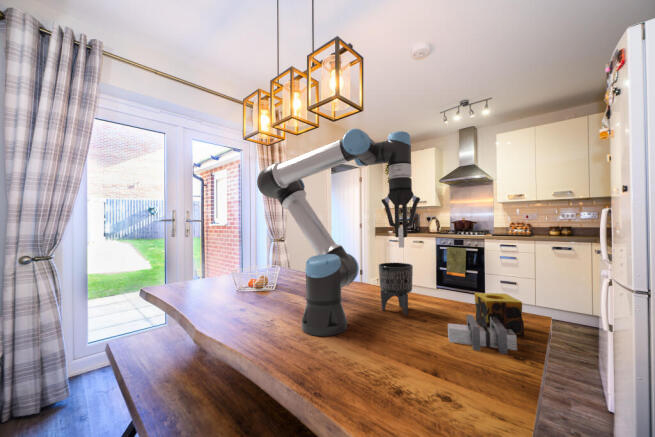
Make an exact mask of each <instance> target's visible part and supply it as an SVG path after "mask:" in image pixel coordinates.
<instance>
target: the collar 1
mask: <svg viewBox="0 0 655 437" xmlns="http://www.w3.org/2000/svg"><path fill="white" fill-rule="evenodd" d="M466 325H469V326H471V328H472V345H471V346H472V350H473V351H478V352H480V351H481V346H480V328H479V327H480V325H478V323H477V322H476V317H474V314H466Z"/></svg>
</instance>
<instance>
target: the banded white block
mask: <svg viewBox="0 0 655 437" xmlns="http://www.w3.org/2000/svg"><path fill="white" fill-rule="evenodd" d="M479 328H480V347H484V348H485V347H486V348H495V349H498V331H497V329H496V328H489V327H480V326H479ZM506 330H507V350H508V351H509V350H510V351H518V345H517V344H518V343H517V342H518V341H517V335H515V333H514V332H513V331H512V330H509V329H506ZM447 335H448V336H447V338H448V342H449V343H452V344H453V343H455V344H462V345H469V346H472V328H471V326H469V325H467V324H466V325H465V324H458V323H457V324H456V323H447Z"/></svg>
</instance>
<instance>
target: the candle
mask: <svg viewBox="0 0 655 437" xmlns="http://www.w3.org/2000/svg"><path fill="white" fill-rule="evenodd" d="M474 303H475V320H476V322H477V324H478V326H479V327H489V328H490V317H496V318H497V319H498V320H499V321H500V323H501V324H502V325H503V326H504V328H505V329H509V330H512V331H513V332H514V333H515V335H516V336H522V337H523V336H525V328H524V327H525V323H524V319H523V302H522V301H521V300H519V299H517V298H515V297H513V296H511V295H509V294H506V293H493V292H490V293H489V292H487V293H485V292H484V293H483V292H481V293H480V292H476V293H474Z"/></svg>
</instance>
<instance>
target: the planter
mask: <svg viewBox="0 0 655 437" xmlns="http://www.w3.org/2000/svg"><path fill="white" fill-rule="evenodd" d="M413 267H414V266H413V264H411V263H406V262H384V263H379V264H378V273H379V274H378V275H379V276H378V277H379V288H380V300H381V301H380V302H381V304H380V305H381V311H382V312H385V311H386V305H387V302H388V301H389V300H390V299H391V298H393V297H396V298H397V300H398V307H399V308H402V314H403V315H404V316H407V315H409V293H412V292H413V275H414V274H413V269H414V268H413Z"/></svg>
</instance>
